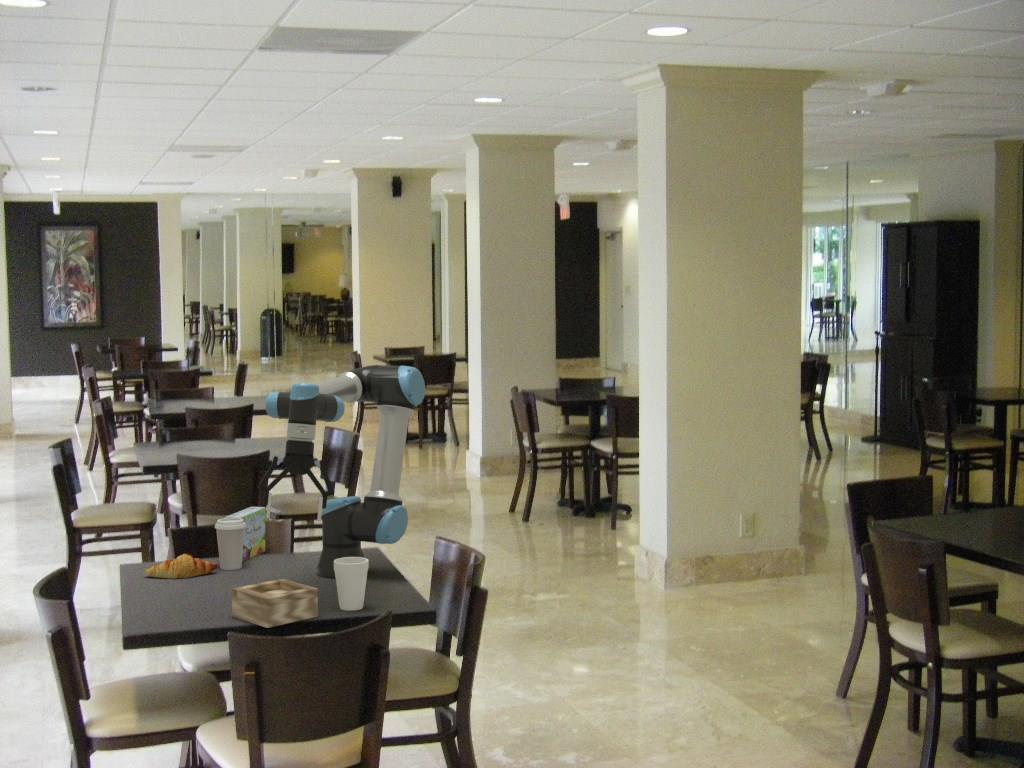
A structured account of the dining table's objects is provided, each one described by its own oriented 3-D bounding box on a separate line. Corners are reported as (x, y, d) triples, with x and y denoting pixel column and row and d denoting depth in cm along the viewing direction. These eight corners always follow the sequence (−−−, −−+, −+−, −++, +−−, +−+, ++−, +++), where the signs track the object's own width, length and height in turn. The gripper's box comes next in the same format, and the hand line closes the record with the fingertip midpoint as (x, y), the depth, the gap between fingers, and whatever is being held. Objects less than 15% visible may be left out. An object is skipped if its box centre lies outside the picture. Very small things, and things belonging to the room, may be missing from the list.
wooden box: (282, 605, 337) (282, 578, 337) (317, 616, 326) (317, 588, 326) (232, 616, 326) (231, 588, 325) (267, 628, 315) (266, 599, 314)
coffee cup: (250, 564, 388) (250, 517, 387) (240, 571, 378) (240, 523, 377) (221, 564, 389) (220, 517, 388) (210, 570, 379) (210, 522, 378)
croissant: (146, 591, 368) (145, 571, 364) (144, 569, 376) (143, 549, 372) (218, 584, 374) (219, 564, 370) (215, 563, 382) (215, 543, 378)
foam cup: (336, 613, 330) (336, 565, 329) (331, 604, 339) (331, 558, 338) (371, 610, 332) (371, 563, 331) (365, 602, 341) (365, 556, 340)
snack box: (240, 564, 388) (239, 517, 387) (223, 564, 389) (222, 516, 388) (266, 551, 409) (266, 506, 408) (250, 550, 410) (250, 505, 409)
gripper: (254, 436, 326) (246, 516, 324) (348, 443, 332) (341, 522, 330) (253, 436, 333) (245, 515, 332) (345, 444, 339) (338, 521, 337)
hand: (293, 519), depth 331 cm, fingers open, 13 cm apart
